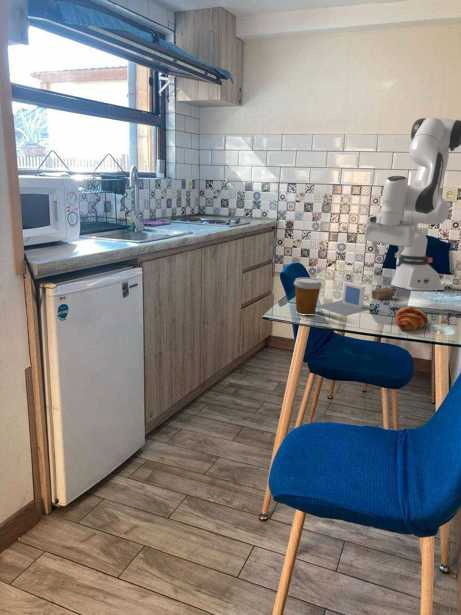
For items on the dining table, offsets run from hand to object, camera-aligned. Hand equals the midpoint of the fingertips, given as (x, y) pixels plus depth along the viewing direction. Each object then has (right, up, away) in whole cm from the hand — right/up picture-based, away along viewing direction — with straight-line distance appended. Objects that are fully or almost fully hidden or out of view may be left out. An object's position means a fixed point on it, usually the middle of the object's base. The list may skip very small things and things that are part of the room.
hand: (386, 255), depth 198 cm
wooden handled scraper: (-3, -17, +3) cm, 18 cm away
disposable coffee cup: (-35, -23, -20) cm, 46 cm away
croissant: (0, -27, -28) cm, 38 cm away
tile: (-16, -19, -10) cm, 27 cm away
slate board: (-19, -21, -12) cm, 31 cm away
